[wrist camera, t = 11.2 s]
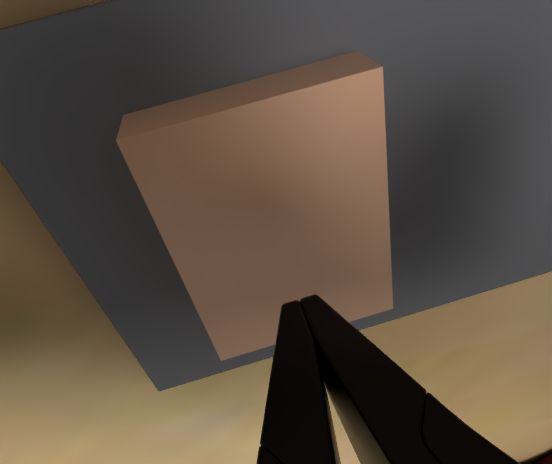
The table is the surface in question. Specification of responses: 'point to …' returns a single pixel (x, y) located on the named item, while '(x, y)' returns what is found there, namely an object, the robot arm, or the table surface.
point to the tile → (271, 195)
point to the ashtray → (545, 460)
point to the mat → (265, 61)
